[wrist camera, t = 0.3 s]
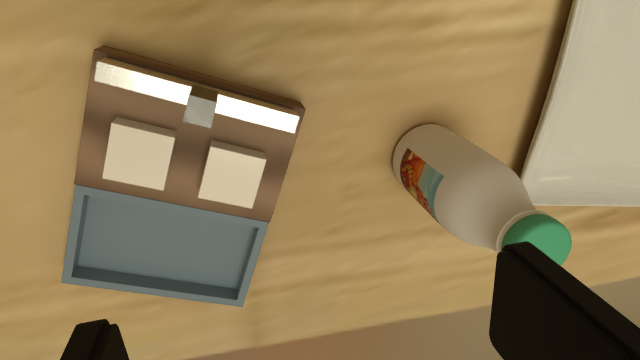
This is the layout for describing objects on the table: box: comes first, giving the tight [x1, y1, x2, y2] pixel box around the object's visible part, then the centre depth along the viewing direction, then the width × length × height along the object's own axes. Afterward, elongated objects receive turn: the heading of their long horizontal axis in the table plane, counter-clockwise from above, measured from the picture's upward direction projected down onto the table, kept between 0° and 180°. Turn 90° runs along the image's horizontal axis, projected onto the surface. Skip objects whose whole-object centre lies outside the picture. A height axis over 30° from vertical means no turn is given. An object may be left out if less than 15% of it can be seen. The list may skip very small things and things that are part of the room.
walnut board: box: [74, 46, 305, 222], centre depth 40 cm, size 12×18×3 cm, turn 71°
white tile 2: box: [198, 140, 266, 209], centre depth 40 cm, size 5×5×2 cm
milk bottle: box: [393, 124, 572, 266], centre depth 39 cm, size 8×8×20 cm
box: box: [61, 184, 269, 307], centre depth 44 cm, size 11×18×2 cm, turn 71°
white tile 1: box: [102, 117, 177, 191], centre depth 37 cm, size 5×5×2 cm
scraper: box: [94, 57, 299, 133], centre depth 34 cm, size 2×16×7 cm, turn 72°
